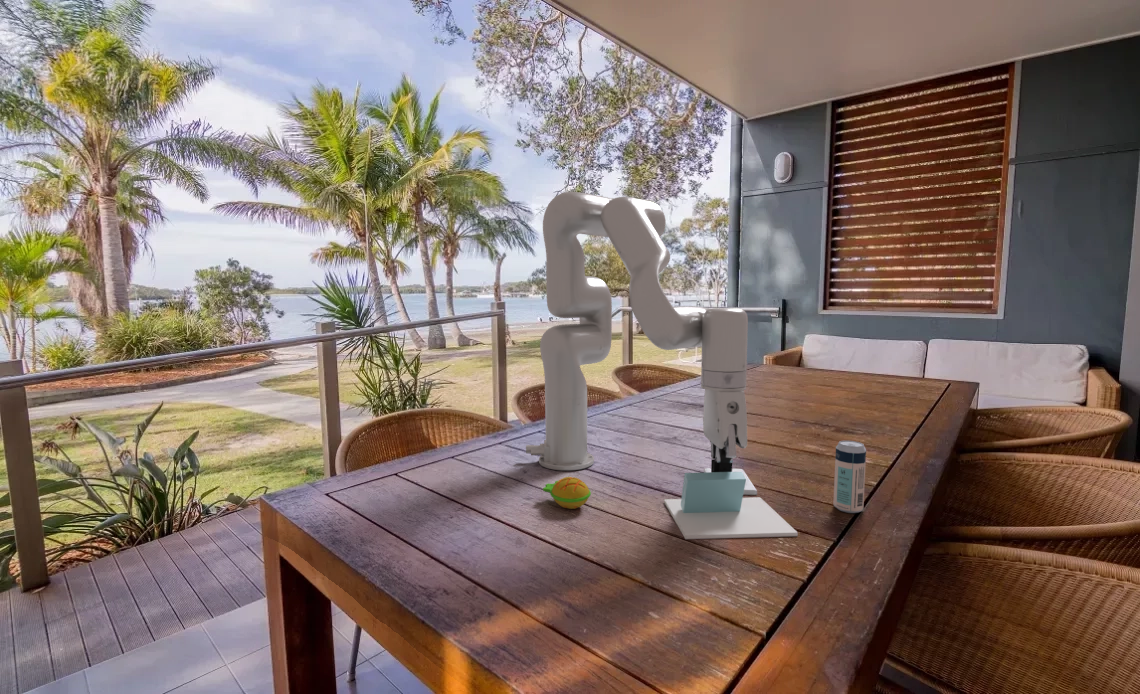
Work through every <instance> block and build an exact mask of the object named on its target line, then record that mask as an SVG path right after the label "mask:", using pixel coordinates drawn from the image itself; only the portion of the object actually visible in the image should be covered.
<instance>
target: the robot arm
mask: <svg viewBox="0 0 1140 694" xmlns="http://www.w3.org/2000/svg"><path fill="white" fill-rule="evenodd" d="M666 223H667V222H666V216H665V212H664V211H663V210H662V208H661V207H660V206H659V204H657V203H655V202H653V201H650V200H646V199H641V198H636V197H630V196H618V197H615V198H613V197H608V196H601V195H596V194H593V193H592V194H591V193H587V192H578V191H566V192H562V193H559V194H558V195H556V196H554V197H553V198H552V199H551V200H550V202H549V203H548V205H547V206H546V209H545V211H544V213H543V220H542V235H543V241H544V246H545V248H544V249H545V257H546V262H545V263H546V265H545V266H546V268H545V270H546V272H545V273H546V274H545V276H546V278H545V279H546V283H545V284H546V285H545V286H546V306H547V309H548V311H549V313H550V315H552V316H553V317H555V318H559V319H579V323H567V324H557V325H554V326H551V327H549V328H548V329H547V330H546V331H544V333H543V334H542V335H541V338H540V343H539V349H540V351H539V352H540V356H541V360H542V361H541V362H542V366H543V373H544V374H543V375H544V399H545V400H544V402H545V403H544V407H545V408H544V410H545V411H544V413H545V414H544V415H545V423H544V424H545V440H544V441H543V442H544V443H539V445H538V444H537V445H536V444H535V445H534V444H526V445H525V453H526V455H527V454H530V456H539V457H538V463H539V465H540V466H542V467H544V468H546V469H549V470H555V471H578V470H583V469H587V468H590V467H591V466H592V465H593V464H594V463H595V457H594V455H593V454H591V453H590V452H588V384H587V380H586V378H585V376H584V373H583V370H582V368H581V366H586V365H592V364H597V363H600V362H603V361H604V360H606V358H607V357H608V356H609V354H610V352H611V348H612V347H611V346H612V338H613V337H612V334H613V331H612V327H613V326H612V323H613V321H612V319H613V317H612V314H613V311H612V310H613V309H612V308H613V303H612V295H611V291H610V288H609V286H608V285H607V283H606V282H605V281H604V280H603V279H601V278H599V277H597V276H594V275H591V276H590V275H586V271H585V264H586V262H585V260H586V258H585V253H584V249H583V247H582V245H581V243H580V240H579V239H578V238H577V236H578V235H580V234H581V235H585V236H586V235H587V236H594V237H595V236H596V237H597V236H598V237H604V238H609V241H610V242H611V244H612V245H613V248H614V250H615V251H616V253H617V254H618V255H619V258H620V259H621V262H622V263H623V265H624V267H625V268H626V270H627V272H628V274H629V276H630V280H629V288H628V289H629V290H628V292H629V302H630V303H629V304H630V307H631V311H632V313H633V315H634V317H635V319H636V320H637V322H638V324H639V326H640V328H641V330H642V331H643V332H644V334H645V336H646V338H648V340H649V341H650V342H651V343H652V344H653V345H654V346H655V347H656V348H658V349H661V350H666V351H670V350H671V351H673V350H679V349H680V350H681V349H691V348H698V347H701V364H700V365H701V369H700V370H701V371H700V372H701V375H700V376H701V377H700V388H701V389H703V390H704V397H703V413H702V414H703V415H702V427H703V428H702V430H703V432H702V433H703V435H704V436H705V438H706V439H707V440H709V442H710V457H711V463H710V468H711V472H732V469H733V463H734V459H735V458H737V447H739V448H740V449H746V447H747V446H748V419H747V418H748V417H747V415H748V414H747V413H748V412H747V403H746V402H747V401H746V394H745V393H746V392H745V390H746V389H747V371H748V370H747V366H748V365H747V361H748V326H749V324H748V323H749V322H748V321H749V318H748V314H747V312H746V311H745V310H744V309H741V308H736V307H735V308H733V307H732V308H731V307H724V308H721V307H719V308H709V307H702V306H696V305H694V306H685V305H684V306H673V305H672V303H671V302H670V300H669V299H668V297H667V295H666V294H665V291H664V290H663V288H662V285H661V282H660V279H659V274H660V273H661V272H663V271H664V270H665V269H666V268H667V266H668V265H669V263H670V261H671V254H670V251H669V249H668V248H667V246H666V245H665V243H664V241H663V240H662V238H661V237H662V235H663V234H664V231H665V229H666Z"/></svg>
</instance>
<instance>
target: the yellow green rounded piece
mask: <svg viewBox="0 0 1140 694" xmlns="http://www.w3.org/2000/svg"><path fill="white" fill-rule="evenodd" d="M542 490H543V492H546V493H549V494H550V496H551V498H553V500H554V501H555V503H556V504H558V506H560V507H562V508H564V509H568V510H575V509H577V508H580V507H582V506H584V505H585V504H586V503H587V501H588V500H589V497H591V493H592V492H591V489H589V487H588V486H587V484H586V483H585V482H583V480H582V479H580V478H577V477H572V476H566V477H563V478H560V479H558V480H555V482H554V483H546V484H545V486H544V487H543V488H542Z"/></svg>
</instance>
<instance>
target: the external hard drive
mask: <svg viewBox="0 0 1140 694" xmlns="http://www.w3.org/2000/svg"><path fill="white" fill-rule="evenodd" d="M705 472H711V467H706V468H704V471H703V473H705ZM732 472H742V473H743V474H744V476H745V478H746V482H745V488H744V493H743V496H744V495H745V496H746V495H747V496H749V495H750V496H758V490H757V488H756V487H755V486H754V484H753V483H752V481H751V480H750V478H749V477H748V475H747V473H746V472H745V470H744V469H742V468H732Z"/></svg>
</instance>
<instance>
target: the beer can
mask: <svg viewBox="0 0 1140 694" xmlns="http://www.w3.org/2000/svg"><path fill="white" fill-rule="evenodd" d="M866 457H867V449H866V447H865V444H864V443H862V442H859V441H854V440H840V441H839V442H838V443H837V445H836V446H835V459H834V460H835V461H834V462H835V463H834V482H833V485H834V486H833V502H832V503H833V504H832V505H833V507H835V508H836V509H837V510H839V511H840V512H843V513H847V514H858V513H861V512H863V510H864V504H865V503H864V501H865V483H866V461H867V458H866Z"/></svg>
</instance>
